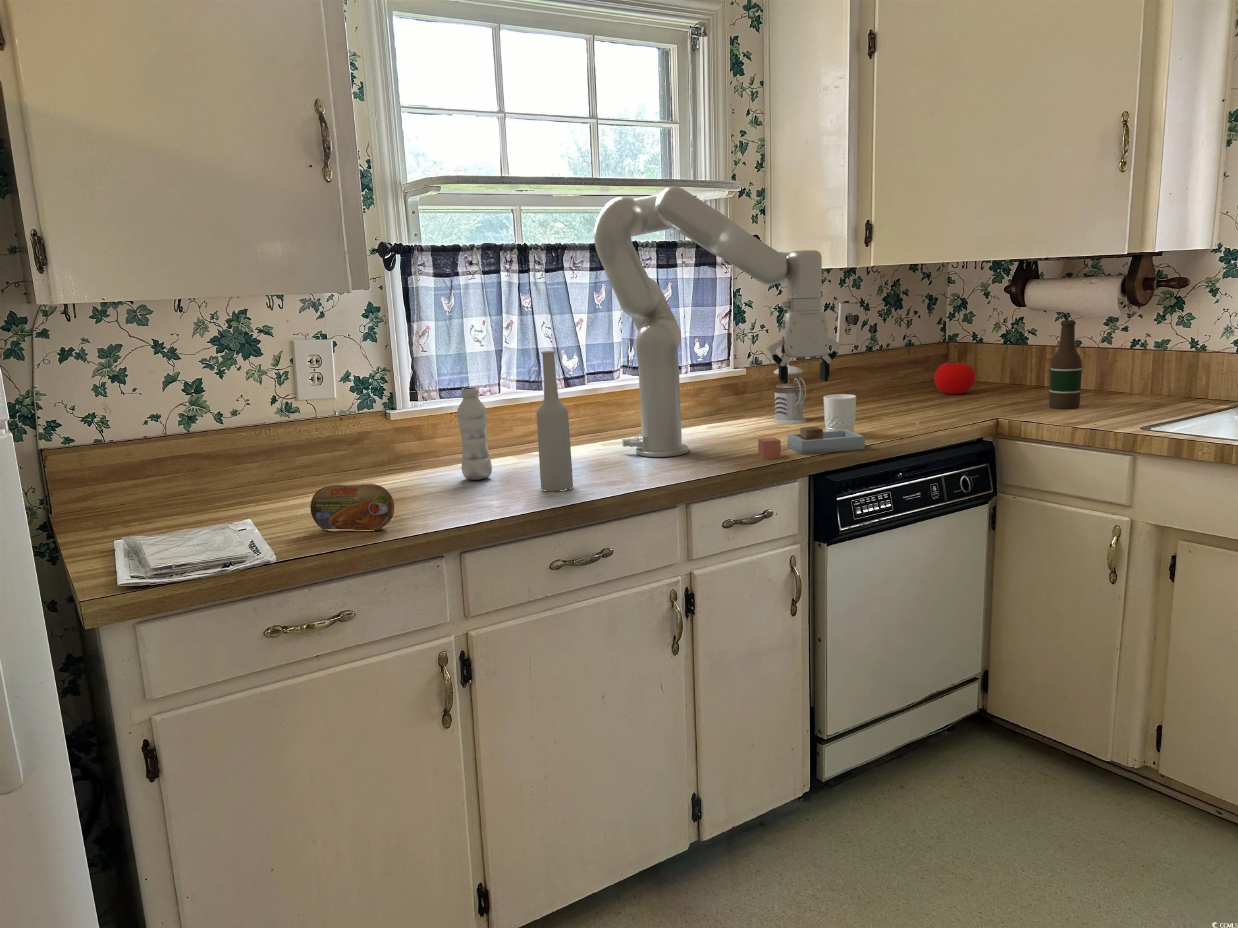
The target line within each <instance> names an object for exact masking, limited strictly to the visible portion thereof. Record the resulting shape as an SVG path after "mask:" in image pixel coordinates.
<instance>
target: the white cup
mask: <svg viewBox="0 0 1238 928" xmlns="http://www.w3.org/2000/svg"><path fill="white" fill-rule="evenodd" d="M856 403H857V396H856V395H855V394H845V393H841V394H839V393H837V394H827V395H823V412H824V413H823V414H824V416H823V417H824V426H825V431H835V430H849V431H852V432H854V431H855V422H856V409H857V407H856V405H857V404H856ZM854 433H855V432H854Z"/></svg>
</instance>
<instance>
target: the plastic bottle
mask: <svg viewBox="0 0 1238 928" xmlns="http://www.w3.org/2000/svg"><path fill="white" fill-rule="evenodd" d="M480 396H481V395H480V388H479V387H478V386H477V387H475V386H473V387H462V388H461V398H462V401H461V403H460V404H459V406H458V408H457V411H456V418H457V423H458V427H459V431H460V437H461V447H462V451H461V452H462V453H461V454H462V458H461V459H462V460H461V473H462V476H463V477H464V478H465V479H466V480H473V481H481V480H484V479H488V478H489V477H490V476H491V475H492V472H493V471H492V470H493V464H492V461H491V457H490V453H489V447H488V441H487V439H488V438H487V436H488V435H487V423H488V422H487V421H488V420H487V419H488V418H487V417H488V412H487V409H486V407H485V405H484V404H483V402H482V401H481V400H480V399H479V397H480Z"/></svg>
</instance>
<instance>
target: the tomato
mask: <svg viewBox="0 0 1238 928" xmlns="http://www.w3.org/2000/svg"><path fill="white" fill-rule="evenodd" d="M933 381H934V384H935V386H936V387H937V389H938V390H939V391H940V392H942V393H943V394H944V393H945V394H947V395H961V394H963V393H965V392H967V391H968V390H970V389H971V388H972V387H973V386H974V384H975V381H976V371H975V370H974V368H973V366H971V365H970V364H968V363H967V362H962V361H957V360H953V361H947V362H946V361H945V362H944V363H942V364H941V365H939V366H938V367H937V368H936V370H935V373H934V376H933Z"/></svg>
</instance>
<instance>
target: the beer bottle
mask: <svg viewBox="0 0 1238 928" xmlns="http://www.w3.org/2000/svg"><path fill="white" fill-rule="evenodd" d="M1075 325H1077V323H1076V320H1074V319H1063V320H1061V322H1060V326H1061V331H1060V337H1059V338H1060V339H1059V345H1058V349H1057V351H1056V352H1055V353H1054V354H1053V357H1052V358H1051V359H1052V360H1051V361H1050V367H1049V370H1050V371H1049V372H1050V373H1049V391H1048V393H1049V396H1048V405H1049V408H1051V409H1052V410H1053V409H1056V410H1075V409H1079V407H1080V402H1081V392H1082V391H1081V388H1082V387H1081V386H1082V372H1083V371H1082V369H1083V368H1082V367H1083V365H1082V362H1083V361H1082V359H1081V356H1080V354H1079V353H1078V351H1077V349H1076V338H1075V336H1076V335H1075V331H1076V330H1075V329H1076V328H1075V327H1076V326H1075Z"/></svg>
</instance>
